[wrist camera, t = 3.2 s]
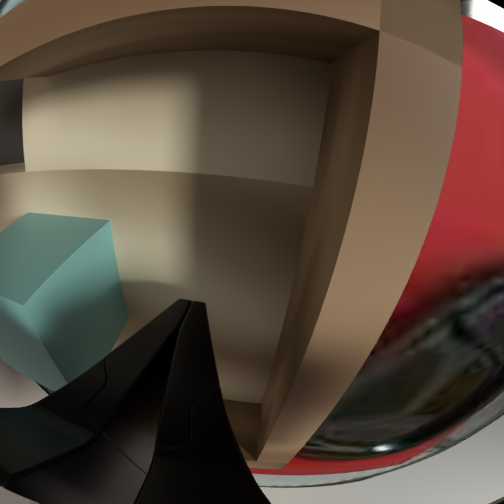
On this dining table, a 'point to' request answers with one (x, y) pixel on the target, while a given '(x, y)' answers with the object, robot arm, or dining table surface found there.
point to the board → (180, 182)
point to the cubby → (328, 166)
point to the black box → (485, 11)
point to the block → (58, 296)
